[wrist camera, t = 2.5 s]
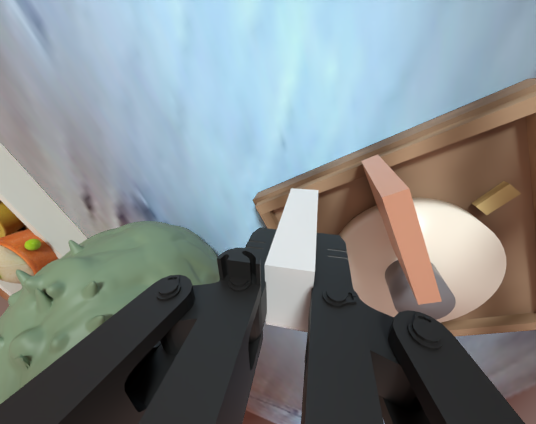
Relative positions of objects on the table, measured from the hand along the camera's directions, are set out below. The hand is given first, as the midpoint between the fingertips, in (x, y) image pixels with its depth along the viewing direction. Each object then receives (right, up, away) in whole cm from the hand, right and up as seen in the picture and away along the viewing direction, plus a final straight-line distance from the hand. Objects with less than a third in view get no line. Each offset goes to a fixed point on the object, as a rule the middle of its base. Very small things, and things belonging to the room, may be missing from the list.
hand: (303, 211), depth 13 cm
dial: (+10, -3, +7) cm, 13 cm away
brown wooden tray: (+11, -4, +10) cm, 16 cm away
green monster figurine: (-12, -5, +18) cm, 22 cm away
